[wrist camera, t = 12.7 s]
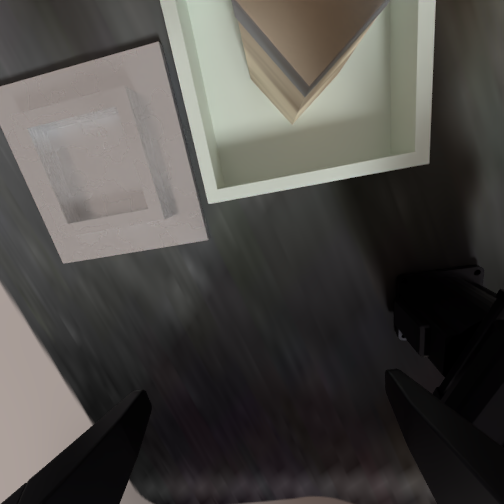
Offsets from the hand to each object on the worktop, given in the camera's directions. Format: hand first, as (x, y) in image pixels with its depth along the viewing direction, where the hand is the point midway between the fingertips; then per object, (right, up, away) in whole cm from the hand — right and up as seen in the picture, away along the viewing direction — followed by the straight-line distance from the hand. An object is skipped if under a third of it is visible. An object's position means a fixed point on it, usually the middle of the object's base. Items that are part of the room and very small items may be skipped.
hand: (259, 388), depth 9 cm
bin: (+3, +17, +8) cm, 19 cm away
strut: (+2, +17, +7) cm, 18 cm away
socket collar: (-12, +12, +11) cm, 20 cm away
